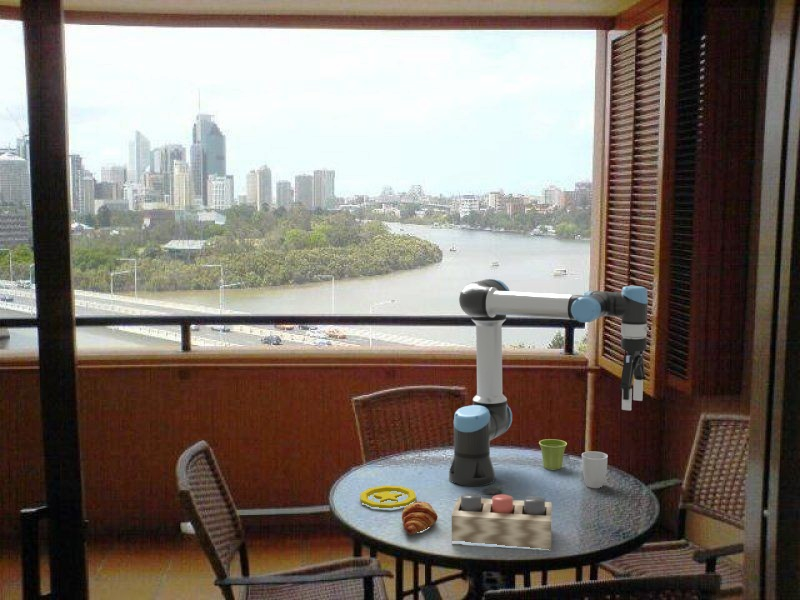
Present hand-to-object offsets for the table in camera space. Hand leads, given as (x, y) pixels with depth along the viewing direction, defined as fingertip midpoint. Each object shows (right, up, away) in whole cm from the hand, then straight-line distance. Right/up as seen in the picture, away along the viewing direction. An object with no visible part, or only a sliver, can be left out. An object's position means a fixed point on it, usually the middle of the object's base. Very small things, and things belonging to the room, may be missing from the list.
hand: (632, 405), depth 253 cm
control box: (-44, -32, -30) cm, 62 cm away
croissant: (-66, -32, -20) cm, 76 cm away
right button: (-36, -26, -32) cm, 55 cm away
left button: (-52, -26, -29) cm, 65 cm away
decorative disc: (-75, -30, -1) cm, 81 cm away
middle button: (-44, -26, -31) cm, 60 cm away
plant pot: (-19, -25, +28) cm, 42 cm away
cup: (-10, -27, +10) cm, 30 cm away
